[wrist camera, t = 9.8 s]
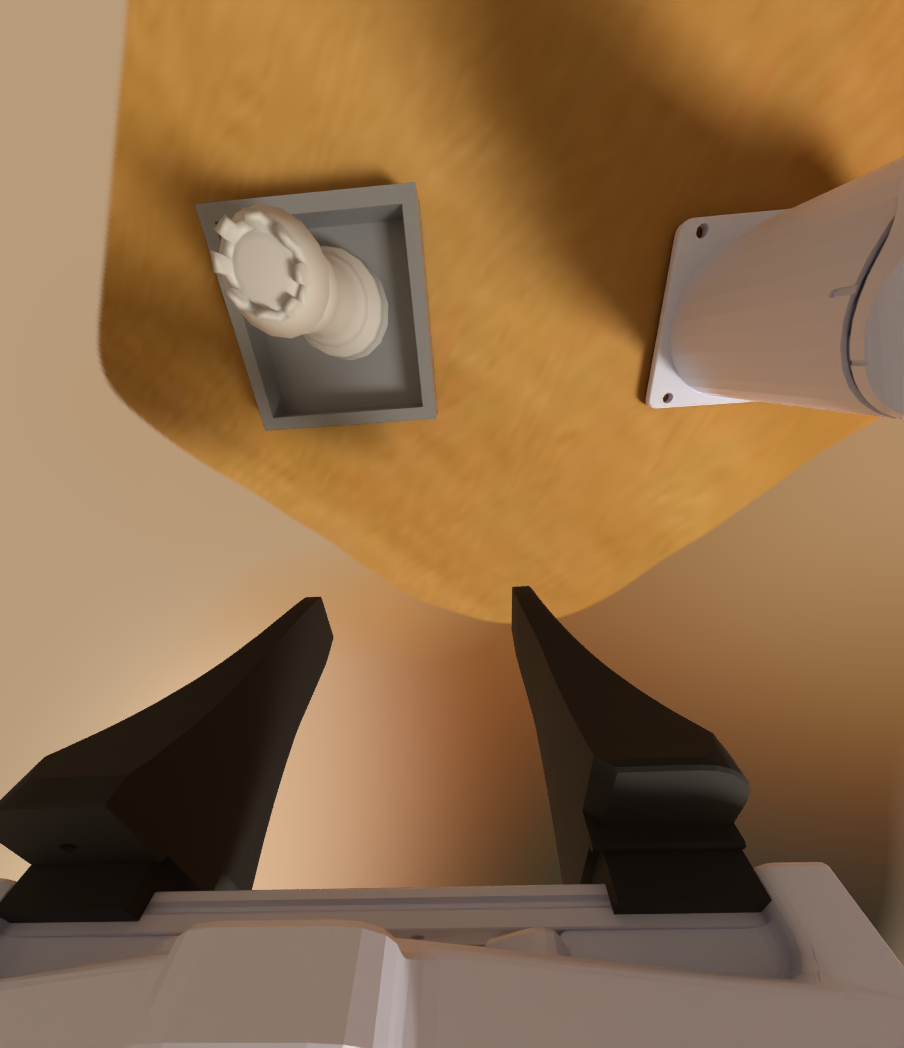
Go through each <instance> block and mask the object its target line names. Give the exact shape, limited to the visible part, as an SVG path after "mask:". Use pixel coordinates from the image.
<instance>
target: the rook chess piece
mask: <svg viewBox="0 0 904 1048" xmlns="http://www.w3.org/2000/svg"><path fill="white" fill-rule="evenodd" d="M241 208H242V210H241V211H238V212H236V214H235V215H234V216H233V218H232V219H231V218H230V217H228V216H227V215H225V214H224V215H223V217H222V218H221V219H220V221H219V222H218V224H217V225H216V226H215V228H214V230H215V231H216V232H217V233H218V234H220V235H221V236H222V239H221V244H220V249H219V253H217V252H214V251H211V250H210V254H211V261H212V267H213V272H214V273H217V274H219V275H222V281H223V284H224V286H225V288H226V290H227V291H226V292H224V294H225V295H226V296H227V297H228V298H229V300H230V301H231V302H232V303H233V304H234V306H235V307H236V308H237V309H238V310H239V312H240V313H241V314H242V315H243V316H244V317H245V318H246V319H247V320H248V322H249V323H250V324H251V325H253V326H255V327H256V328H258V329H260V330H262V331H263V332H265V333H267V334H269V335H271V336H276V337H284V338H294V337H297V336H300V335H303V336H304V338H305V339H306V340H307V341H308V342H309V343H310V345H311V346H312V347H314V348H315V349H317V350H319V351H321V352H322V353H324V354H326V355H328V356H329V357H334V358H336V359H344V360H355V359H358V358H362V357H365V356H368V355H369V354H370V353H371V352H372V351H373V350H374V349H375V348H376V347H377V346H378V345H379V344H380V343H381V341H382V338H383V336H384V333H385V331H386V328H387V326H388V302H387V298H386V295H385V292H384V289H383V286H382V283H381V281H380V280H379V278H378V277H377V276H376V274H375V273H374V272H373V270H372V269H371V267H370V266H369V265H368V264H367V263H365V262H364V261H363V260H361V259H359V258H358V257H356V256H355V255H353V254H352V253H350V252H349V251H347V250H346V249H343V248H336V247H329V246H321V247H320V245H319V243H318V242H317V241H316V240H315V238H314V237H313V236H312V234H311V233H310V232H309V230H308V229H307V228H306V226H305V225H304V224H303V222H301V221H300V220H298V219H297V218H295V217H294V216H292V215H291V214H289V213H288V212H286V211H285V210H283V209H282V208H280V207H274V206H267V205H260V204H255V205H253V206H250V207H248V208H244V207H241Z"/></svg>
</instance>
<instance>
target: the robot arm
mask: <svg viewBox="0 0 904 1048" xmlns="http://www.w3.org/2000/svg"><path fill="white" fill-rule="evenodd" d="M698 227H701V228H702V230H703V234H702V236H701V238H698V237H697V236H696V231H697V228H698ZM667 393H668V394H669V398H668V400H667V401H666V402H663V397H664V395H665V394H667ZM754 401H759V402H767V403H775V404H783V405H791V406H799V407H807V408H815V409H823V410H831V411H839V412H847V413H855V414H863V415H871V416H879V417H887V418H897V419H900V420H902V421H904V157H902V158H900V159H897V160H895V161H893V162H891V163H889V164H887V165H884V166H882V167H880V168H878V169H876V170H874V171H871V172H869V173H867V174H865V175H863V176H861V177H858V178H856V179H854V180H852V181H850V182H848V183H845V184H843V185H841V186H839V187H837V188H835V189H832V190H830V191H828V192H826V193H824V194H822V195H819V196H817V197H815V198H813V199H811V200H809V201H806V202H804V203H802V204H800V205H798V206H796V207H793V208H791V209H783V210H772V211H761V212H750V213H739V214H728V215H717V216H707V217H696V218H691V219H688V220H686V221H685V222H683V223H682V224H681V225H680V226H679V227H678V229H677V230H676V234H675V237H674V243H673V248H672V254H671V260H670V265H669V271H668V276H667V282H666V288H665V293H664V299H663V304H662V310H661V316H660V321H659V327H658V332H657V338H656V344H655V349H654V355H653V360H652V366H651V372H650V377H649V383H648V388H647V394H646V404H647V406H649V407H651V408H670V407H684V406H698V405H712V404H726V403H740V402H754ZM512 634H513V640H514V646H515V651H516V657H517V660H518V663H519V668H520V671H521V675H522V678H523V682H524V685H525V689H526V692H527V696H528V699H529V703H530V707H531V710H532V714H533V717H534V722H535V726H536V731H537V736H538V741H539V746H540V752H541V757H542V763H543V768H544V774H545V779H546V785H547V790H548V796H549V802H550V808H551V814H552V820H553V826H554V831H555V837H556V844H557V850H558V856H559V863H560V868H561V875H562V881H563V885H525V886H524V885H520V886H468V887H467V886H464V887H412V888H411V887H410V888H409V887H408V888H351V889H300V890H299V889H296V890H252V887H253V883H254V879H255V875H256V870H257V867H258V862H259V858H260V854H261V850H262V846H263V842H264V838H265V835H266V831H267V827H268V823H269V820H270V816H271V813H272V808H273V805H274V802H275V798H276V795H277V792H278V788H279V785H280V781H281V778H282V775H283V772H284V768H285V765H286V762H287V759H288V756H289V753H290V750H291V747H292V744H293V741H294V738H295V735H296V733H297V730H298V727H299V725H300V722H301V720H302V717H303V716H304V713H305V711H306V709H307V706H308V704H309V702H310V700H311V697H312V695H313V692H314V690H315V688H316V686H317V683H318V681H319V679H320V676H321V674H322V672H323V669H324V667H325V665H326V662H327V659H328V655H329V652H330V648H331V645H332V641H333V634H332V631H331V627H330V624H329V621H328V618H327V614H326V612H325V608H324V604H323V601H322V598H321V597H306V598H304V599H303V600H301V601H300V602H299V603H298V604H296V605H295V606H294V607H292V608H291V609H290V610H289V611H287V612H286V613H285V614H284V615H283V616H282V617H280V618H279V619H278V620H276V622H274V623H273V624H272V625H271V626H269V627H268V628H267V629H265V630H264V631H263V632H262V633H261V634H259V635H258V636H257V637H255V638H254V639H253V640H251V641H250V642H249V643H247V644H246V645H245V646H244V647H242V648H241V649H240V650H238V651H237V652H236V653H234V654H233V655H232V656H230V657H229V658H227V659H226V660H224V661H223V662H222V663H220V664H219V665H217V666H216V667H214V668H213V669H211V670H210V671H208V672H207V673H205V674H204V675H202V676H201V677H199V678H197V679H196V680H194V681H193V682H191V683H189V684H188V685H186V686H184V687H183V688H181V689H179V690H177V691H176V692H174V693H172V694H171V695H169V696H167V697H166V698H164V699H162V700H160V701H159V702H157V703H155V704H153V705H151V706H150V707H148V708H146V709H144V710H142V711H140V712H138V713H136V714H135V715H133V716H131V717H129V718H127V719H125V720H123V721H121V722H119V723H117V724H115V725H113V726H111V727H109V728H107V729H105V730H103V731H100V732H98V733H96V734H94V735H92V736H90V737H88V738H85V739H83V740H81V741H79V742H77V743H75V744H72V745H70V746H68V747H66V748H63V749H61V750H59V751H57V752H55V753H52V754H50V755H48V756H46V757H44V758H43V759H42V760H41V761H40V762H39V763H38V764H37V765H36V766H35V767H34V768H33V769H32V770H31V771H30V772H29V773H28V774H27V775H26V776H25V777H23V779H21V781H20V782H18V783H17V784H16V785H15V786H14V787H13V788H12V789H11V790H10V791H9V792H8V793H7V794H6V795H5V796H4V797H3V798H2V799H1V800H0V843H1V844H2V845H4V846H6V847H7V848H8V849H10V850H11V851H13V852H14V853H15V854H17V855H18V856H20V857H21V858H23V859H24V860H25V861H27V862H28V863H30V864H32V865H31V866H30V867H29V868H28V870H27V871H26V872H25V873H24V874H23V876H22V877H21V878H20V879H19V880H18V882H16V881H12V880H8V879H1V878H0V1048H904V967H903V966H902V964H901V963H900V961H899V960H898V959H897V957H896V956H895V955H894V953H893V952H892V951H891V949H890V948H889V947H888V945H887V944H886V943H885V941H884V940H883V939H882V937H881V936H880V935H879V933H878V932H877V931H876V929H875V928H874V926H873V925H872V924H871V922H870V921H869V920H868V918H867V917H866V916H865V914H864V913H863V912H862V910H861V909H860V908H859V907H858V905H857V904H856V902H855V901H854V900H853V898H852V897H851V896H850V894H849V893H848V892H847V890H846V889H845V888H844V886H843V885H842V884H841V882H840V881H839V880H838V878H837V877H836V876H835V874H834V873H833V872H832V870H831V869H830V868H829V866H828V865H825V864H824V863H822V862H800V863H798V862H797V863H769V864H764V865H760V866H757V867H756V868H754V869H753V868H752V866H751V864H750V862H749V861H748V859H747V857H746V856H745V854H744V852H743V851H742V849H745V847H746V844H745V841H744V839H743V837H742V836H741V834H740V833H739V831H738V829H737V828H736V826H735V824H734V821H735V820H736V818H737V817H738V815H739V813H740V812H741V810H742V809H743V807H744V805H745V804H746V802H747V799H748V796H749V793H750V786H749V781H748V780H747V778H746V777H745V776H744V774H743V773H742V771H741V770H740V768H739V767H738V766H737V764H736V763H735V761H734V760H733V758H732V757H731V756H730V754H729V753H728V752H727V750H726V749H725V748H724V747H723V745H721V743H720V742H719V741H718V739H717V738H716V737H715V736H714V734H713V733H711V732H710V731H708V730H706V729H704V728H702V727H701V726H699V725H697V724H695V723H693V722H692V721H690V720H688V719H686V718H684V717H683V716H681V715H679V714H677V713H675V712H674V711H672V710H670V709H668V708H667V707H665V706H664V705H662V704H660V703H659V702H657V701H656V700H654V699H652V698H651V697H649V696H648V695H646V694H645V693H643V692H642V691H640V690H638V689H637V688H636V687H634V686H633V685H631V684H630V683H629V682H627V681H626V680H625V679H623V678H622V677H620V676H619V675H618V674H616V673H615V672H613V671H612V670H611V669H610V668H608V667H607V666H606V665H604V664H603V663H602V662H601V661H600V660H598V659H597V658H596V657H595V656H594V655H593V654H591V653H590V652H589V651H588V650H587V649H586V648H585V647H584V646H583V645H581V644H580V643H579V642H578V641H577V640H576V639H575V638H574V637H573V636H572V635H571V634H570V633H569V632H568V631H567V630H566V629H565V628H564V627H563V625H562V624H561V623H560V622H559V621H558V620H557V619H556V618H555V617H554V616H553V614H552V613H551V612H550V611H549V610H548V609H547V607H546V606H545V605H544V604H543V603H542V601H541V600H540V599H539V598H538V596H537V595H536V594H535V592H534V591H533V590H532V588H530V587H529V586H521V587H512ZM458 944H486V945H485V947H476V946H467V945H458Z"/></svg>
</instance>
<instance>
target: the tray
mask: <svg viewBox="0 0 904 1048" xmlns="http://www.w3.org/2000/svg"><path fill="white" fill-rule="evenodd" d="M255 204H260V205H267V206H274V207H280V208H282V209H283V210H285V211H286V212H288V213H289V214H291V215H292V216H294V217H295V218H297V219H298V220H300V221H301V222H303V224H304V225H305V226H306V228H307V229H308V230H309V232H310V233H311V234H312V236H313V237H314V238H315V240H316V241H317V242H318V243H319V245H320V247H321V246H329V247H336V248H343V249H346V250H347V251H349V252H350V253H352V254H353V255H355V256H356V257H358V258H359V259H361V260H363V261H364V262H365V263H367V264H368V265H369V266H370V267H371V269H372V270H373V272H374V273H375V274H376V276H377V277H378V278H379V280H380V281H381V283H382V286H383V289H384V292H385V295H386V298H387V302H388V326H387V328H386V331H385V333H384V336H383V338H382V341H381V343H380V344H379V345H378V346H377V347H376V348H375V349H374V350H373V351H372V352H371V353H370V354H369V355H368V356H365V357H362V358H358V359H355V360H344V359H336V358H334V357H329V356H328V355H326V354H324V353H322V352H321V351H319V350H317V349H315V348H314V347H312V346H311V345H310V343H309V342H308V341H307V340H306V339H305V338H304V336H303V335H300V336H297V337H294V338H284V337H276V336H271V335H269V334H267V333H265V332H263V331H262V330H260V329H258V328H256V327H255V326H253V325H251V324H250V323H249V322H248V320H247V319H246V318H245V317H244V316H243V315H242V314H241V313H240V312H239V310H238V309H237V308H236V307H235V306H234V304H233V303H232V302H231V301H230V300H229V298H228V297H227V296H226V295H225V294H224V292H226V291H227V290H226V288H225V286H224V284H223V281H222V275H219V274H217V273H216V274H217V278H218V281H219V284H220V287H221V290H222V294H223V297H224V300H225V303H226V306H227V310H228V313H229V316H230V319H231V322H232V326H233V329H234V332H235V335H236V338H237V342H238V345H239V348H240V351H241V354H242V358H243V361H244V364H245V367H246V370H247V374H248V377H249V380H250V383H251V386H252V389H253V393H254V396H255V399H256V402H257V405H258V409H259V412H260V415H261V418H262V421H263V425H264V428H265V431H268V430H282V429H296V428H310V427H324V426H338V425H352V424H366V423H380V422H394V421H408V420H422V419H436V417H437V414H438V411H437V400H436V388H435V376H434V364H433V353H432V341H431V329H430V317H429V306H428V294H427V282H426V270H425V258H424V247H423V235H422V223H421V211H420V202H419V198H418V193H417V189H416V184H415V182H410V183H400V184H390V185H380V186H370V187H360V188H350V189H340V190H330V191H320V192H309V193H299V194H289V195H279V196H269V197H259V198H249V199H239V200H229V201H219V202H208V203H198V204H195V207H196V211H197V214H198V217H199V220H200V223H201V227H202V230H203V233H204V236H205V239H206V243H207V246H208V249H209V252H210V250H211V251H214V252H217V253H219V249H220V244H221V239H222V236H221V235H220V234H218V233H217V232H216V231H215V230H214V228H215V226H216V225H217V224H218V222H219V221H220V219H221V218H222V217H223V215H224V214H225V215H227V216H228V217H230V218H231V219H232V218H233V216H234V215H235V214H236V212H238V211H241V210H242V208H241V207H244V208H248V207H250V206H253V205H255ZM210 255H211V254H210Z"/></svg>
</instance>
